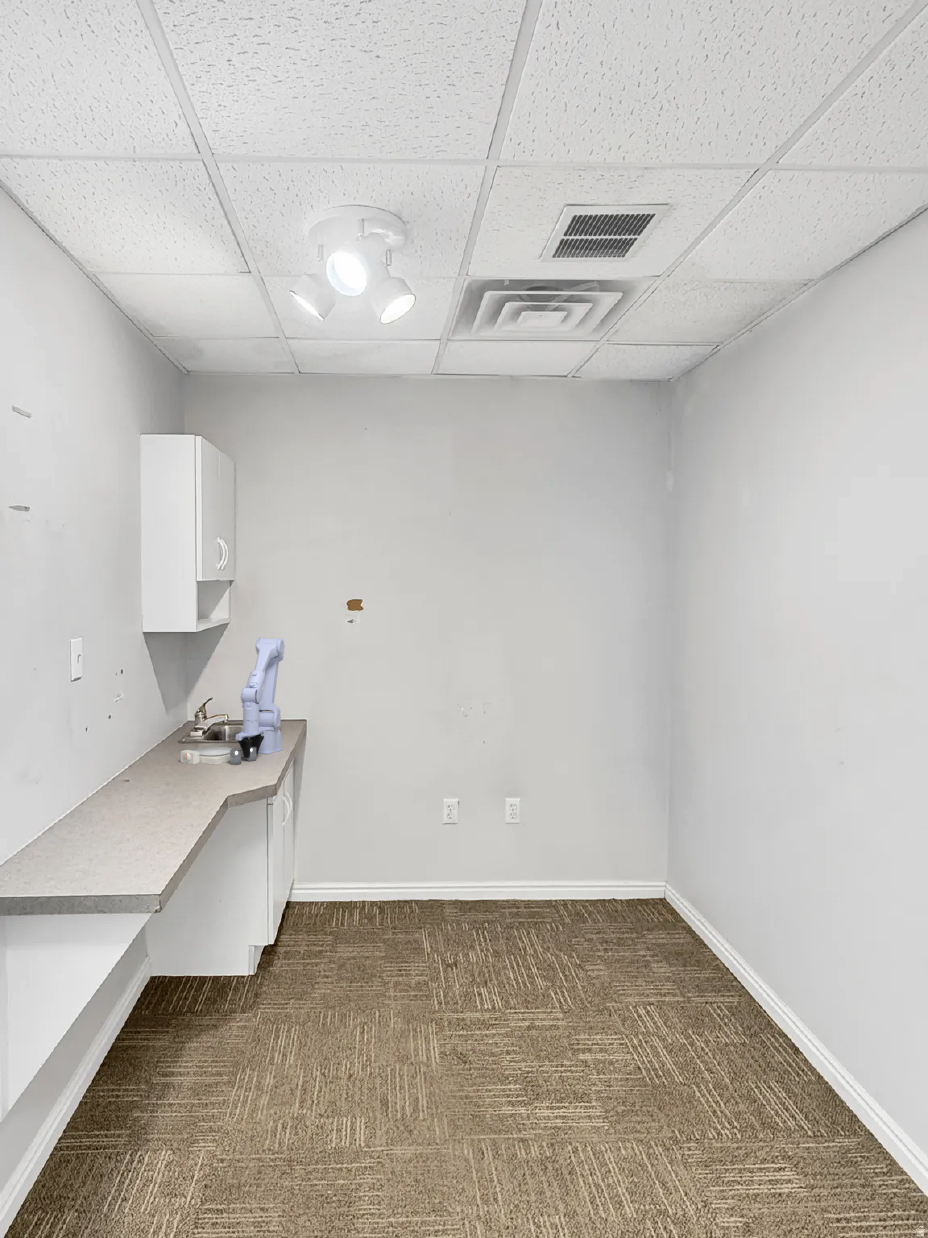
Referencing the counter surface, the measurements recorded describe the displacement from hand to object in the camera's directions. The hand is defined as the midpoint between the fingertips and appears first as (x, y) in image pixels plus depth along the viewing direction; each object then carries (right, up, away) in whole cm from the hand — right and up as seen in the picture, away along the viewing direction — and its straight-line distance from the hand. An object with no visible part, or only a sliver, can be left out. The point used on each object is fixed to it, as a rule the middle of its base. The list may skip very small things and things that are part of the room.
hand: (250, 756), depth 309 cm
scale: (-15, -1, +1) cm, 15 cm away
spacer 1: (-4, -2, -6) cm, 7 cm away
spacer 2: (0, -1, 0) cm, 2 cm away
